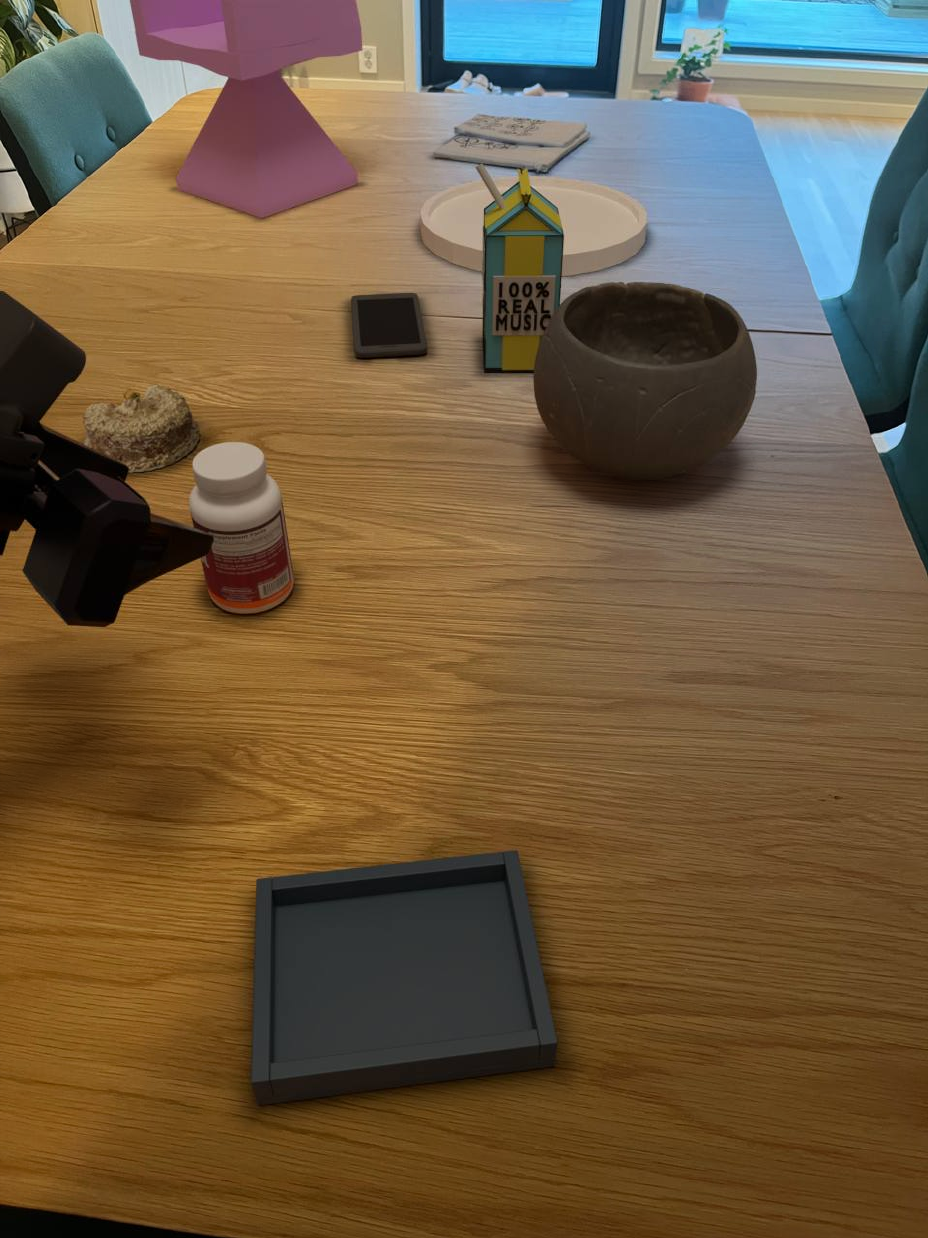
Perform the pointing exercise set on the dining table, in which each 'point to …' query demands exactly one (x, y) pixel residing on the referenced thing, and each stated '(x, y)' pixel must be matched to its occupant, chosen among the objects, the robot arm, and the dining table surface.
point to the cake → (143, 429)
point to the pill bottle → (241, 528)
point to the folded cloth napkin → (513, 141)
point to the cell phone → (387, 325)
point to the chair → (255, 95)
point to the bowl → (644, 378)
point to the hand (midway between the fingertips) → (166, 507)
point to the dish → (396, 978)
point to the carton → (518, 274)
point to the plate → (589, 213)
